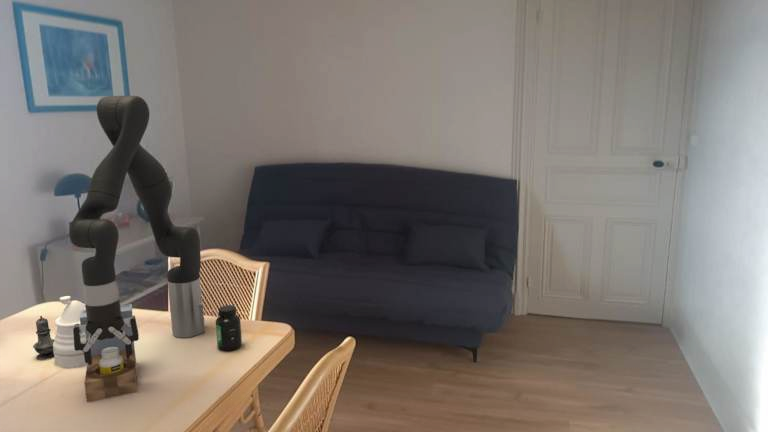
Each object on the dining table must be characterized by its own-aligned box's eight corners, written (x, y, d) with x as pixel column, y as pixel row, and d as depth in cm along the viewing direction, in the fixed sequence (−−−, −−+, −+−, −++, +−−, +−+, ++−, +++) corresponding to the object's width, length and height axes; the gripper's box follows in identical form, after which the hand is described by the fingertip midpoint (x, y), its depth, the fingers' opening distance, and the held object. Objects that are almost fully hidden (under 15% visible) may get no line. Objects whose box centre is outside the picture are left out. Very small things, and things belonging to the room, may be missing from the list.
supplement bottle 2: (218, 353, 159) (215, 314, 156) (217, 343, 165) (214, 305, 163) (243, 350, 161) (240, 310, 159) (240, 340, 168) (238, 302, 165)
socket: (136, 365, 153) (134, 348, 151) (136, 391, 139) (134, 373, 138) (90, 373, 148) (88, 356, 147) (86, 401, 135) (84, 382, 134)
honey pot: (54, 372, 149) (44, 308, 145) (56, 352, 160) (47, 293, 156) (107, 361, 155) (100, 299, 151) (106, 343, 166) (98, 285, 162)
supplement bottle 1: (114, 393, 139) (109, 356, 137) (97, 389, 140) (92, 353, 138) (130, 382, 144) (126, 347, 142) (113, 379, 145) (109, 344, 143)
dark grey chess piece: (47, 361, 155) (41, 320, 153) (29, 359, 156) (23, 319, 154) (63, 351, 161) (58, 312, 158) (45, 350, 162) (40, 310, 159)
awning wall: (138, 361, 155) (131, 303, 151) (138, 370, 150) (131, 310, 146) (89, 370, 150) (81, 310, 146) (87, 379, 145) (79, 317, 142)
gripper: (67, 309, 131) (76, 372, 134) (134, 299, 136) (140, 361, 140) (70, 298, 137) (78, 359, 141) (133, 289, 143) (140, 348, 146)
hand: (109, 360), depth 140 cm, fingers open, 8 cm apart
